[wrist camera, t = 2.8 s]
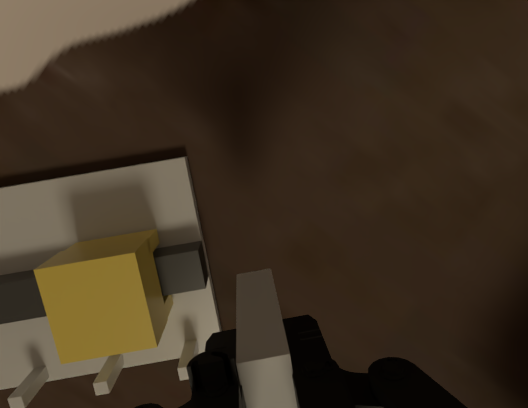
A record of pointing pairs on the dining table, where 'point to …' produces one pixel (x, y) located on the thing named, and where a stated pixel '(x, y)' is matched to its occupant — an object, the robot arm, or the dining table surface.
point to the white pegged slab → (90, 228)
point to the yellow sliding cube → (104, 297)
